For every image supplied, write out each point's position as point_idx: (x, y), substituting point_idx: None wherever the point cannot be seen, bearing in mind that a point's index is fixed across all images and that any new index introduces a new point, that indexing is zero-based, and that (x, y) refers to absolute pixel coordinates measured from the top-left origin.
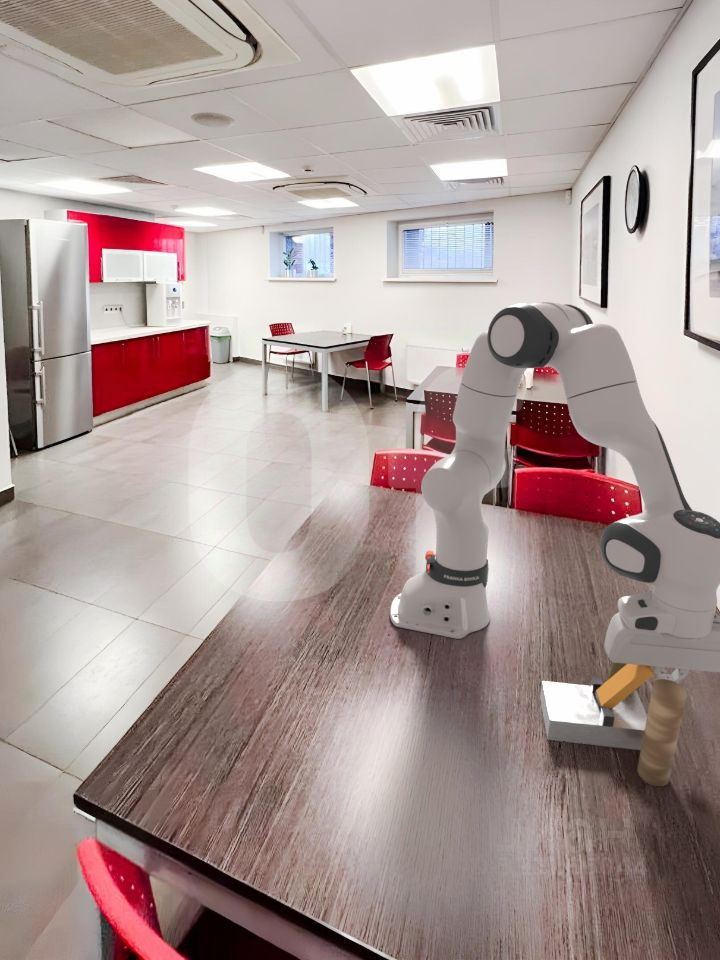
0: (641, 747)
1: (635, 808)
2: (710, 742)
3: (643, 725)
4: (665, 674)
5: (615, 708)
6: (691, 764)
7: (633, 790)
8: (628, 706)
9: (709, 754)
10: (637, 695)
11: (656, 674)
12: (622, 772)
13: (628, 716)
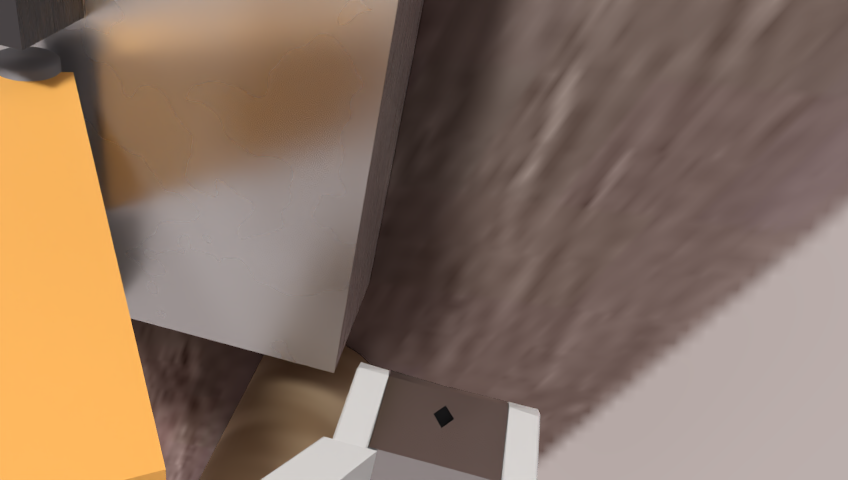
0: (208, 462)
1: (200, 470)
2: (755, 275)
3: (292, 328)
4: (420, 473)
5: (155, 181)
6: (532, 369)
7: (216, 421)
8: (255, 171)
9: (674, 338)
10: (377, 61)
11: (338, 421)
12: (198, 354)
13: (223, 256)
